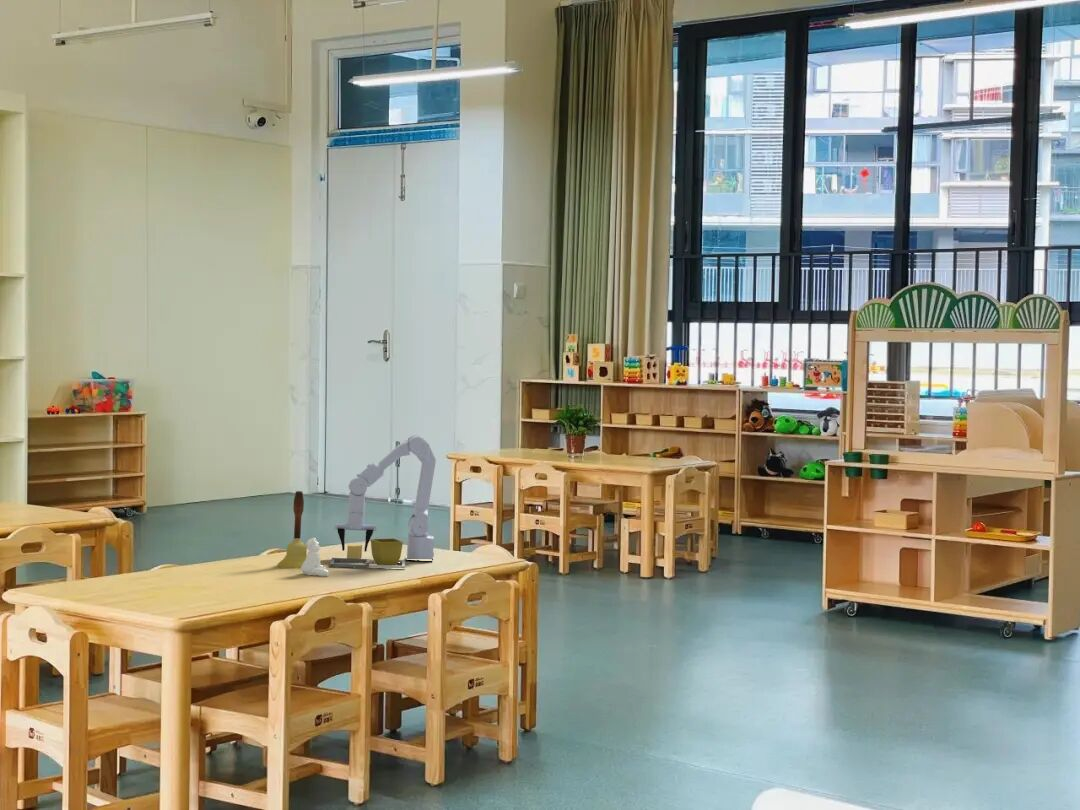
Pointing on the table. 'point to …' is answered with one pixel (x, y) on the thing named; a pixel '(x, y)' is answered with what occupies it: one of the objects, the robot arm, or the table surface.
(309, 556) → the white creature statuette
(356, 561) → the sorting board
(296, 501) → the handbell
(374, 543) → the flower pot
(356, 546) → the ochre block
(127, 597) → the table surface
